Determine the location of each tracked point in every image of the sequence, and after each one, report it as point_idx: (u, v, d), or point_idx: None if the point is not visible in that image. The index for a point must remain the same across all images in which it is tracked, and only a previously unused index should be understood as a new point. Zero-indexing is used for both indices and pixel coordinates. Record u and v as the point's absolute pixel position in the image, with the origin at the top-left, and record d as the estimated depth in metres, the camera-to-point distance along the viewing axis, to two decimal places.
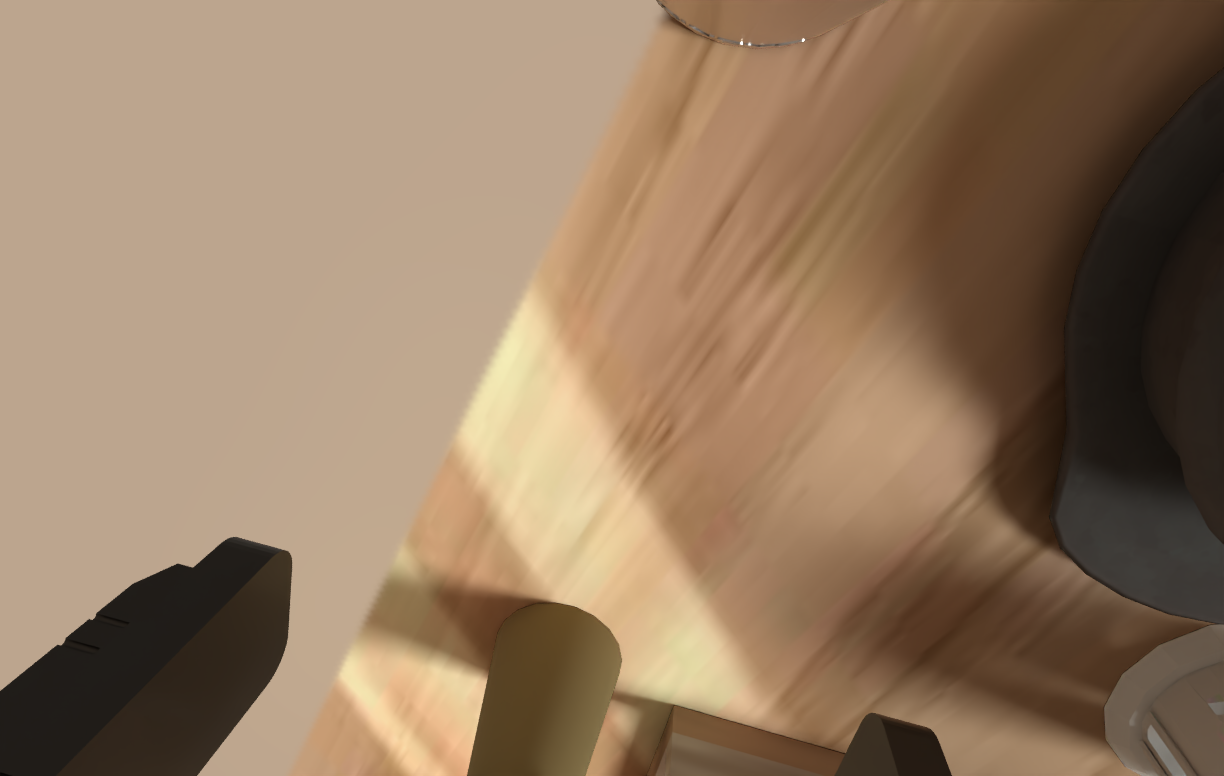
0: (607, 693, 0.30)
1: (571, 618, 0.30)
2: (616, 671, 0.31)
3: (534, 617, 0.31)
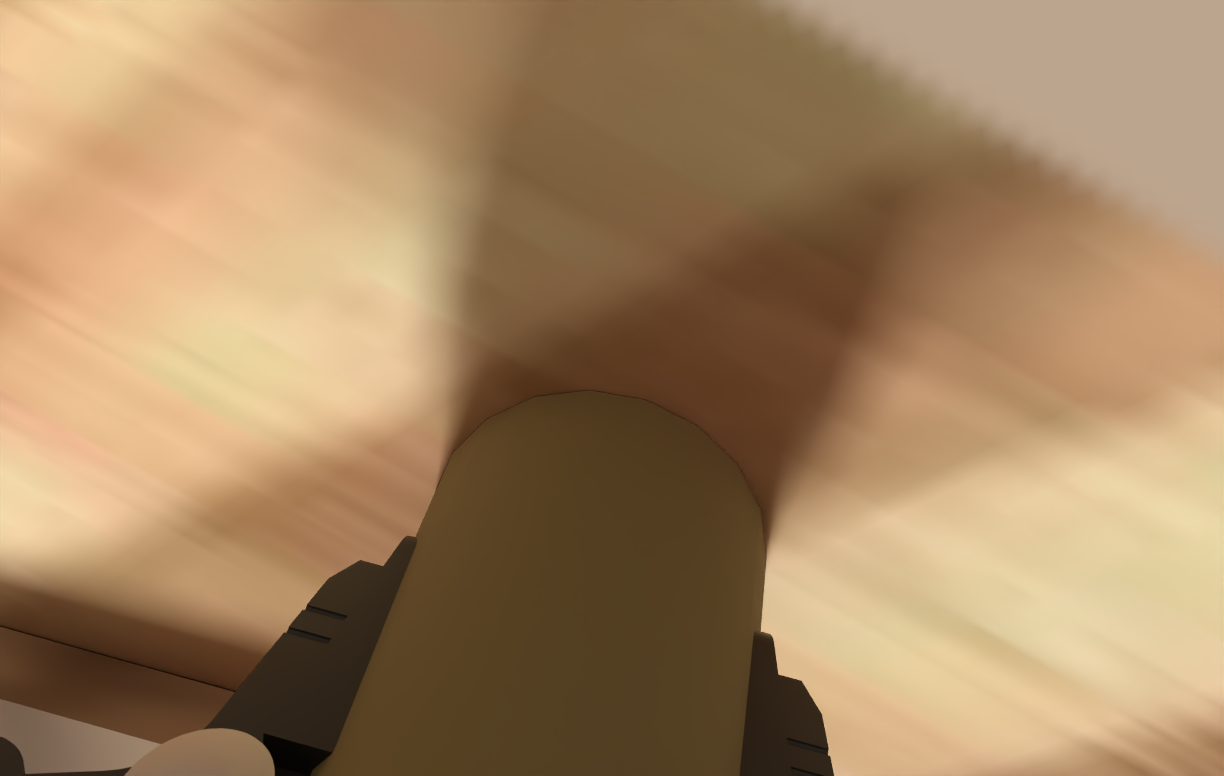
0: None
1: None
2: None
3: (757, 541, 0.11)
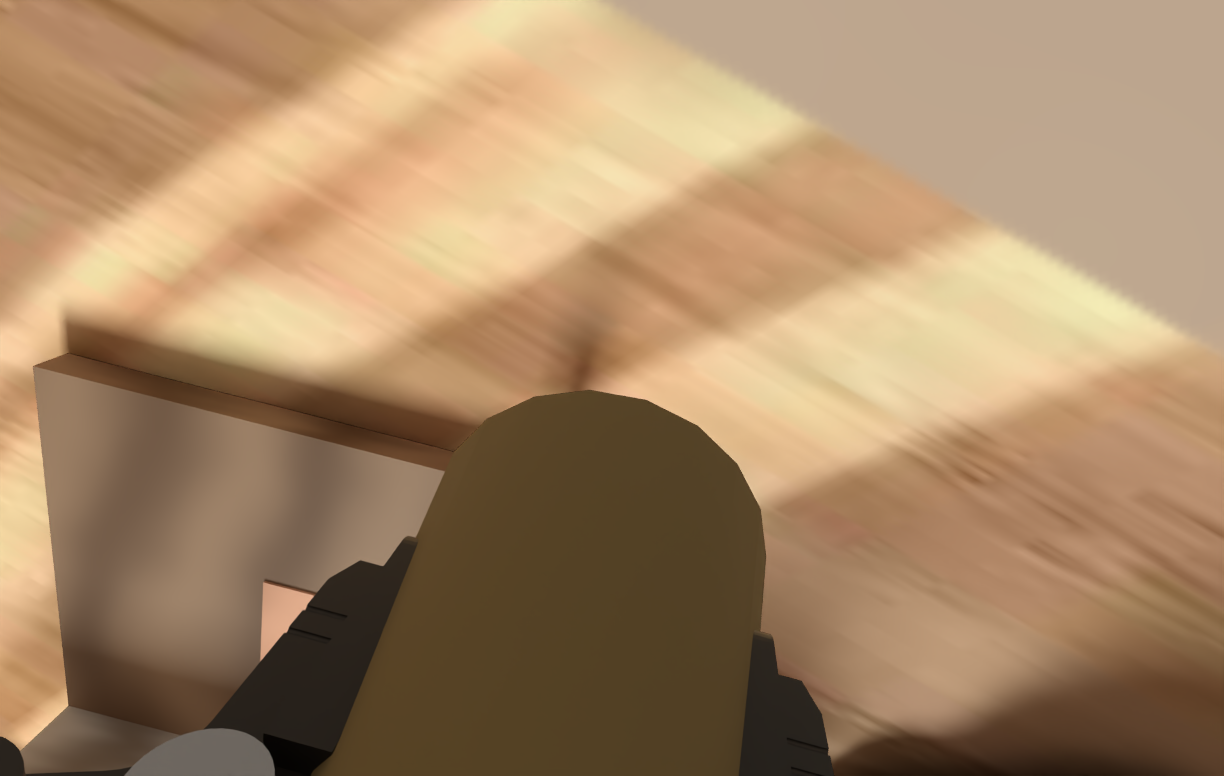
0: None
1: None
2: None
3: None
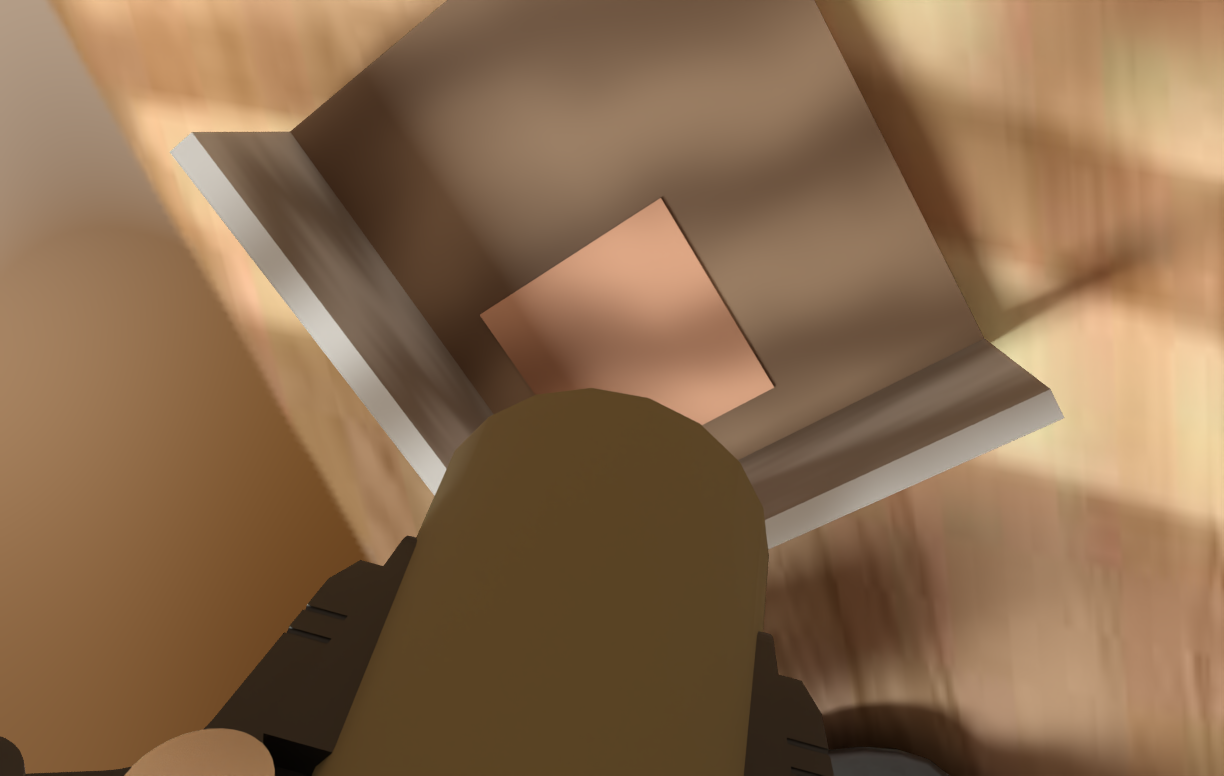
0: None
1: None
2: None
3: None
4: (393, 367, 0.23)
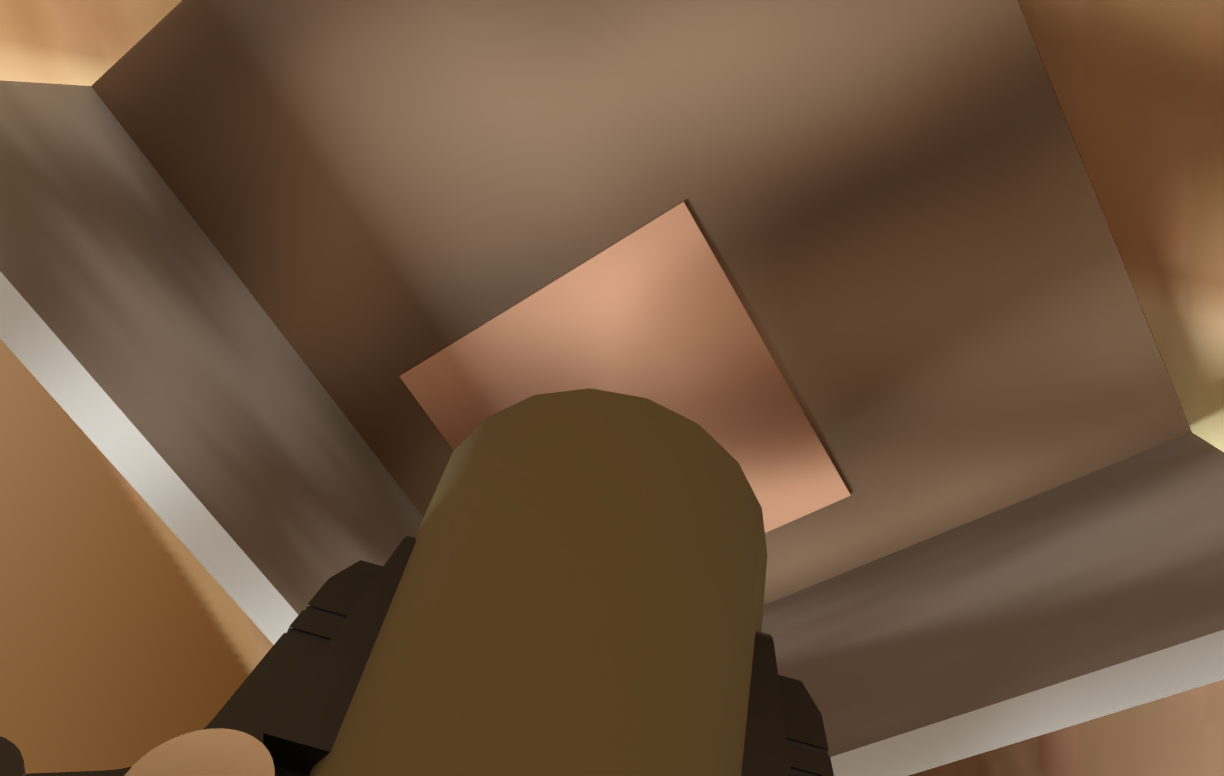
0: None
1: None
2: None
3: (758, 539, 0.11)
4: (240, 476, 0.14)
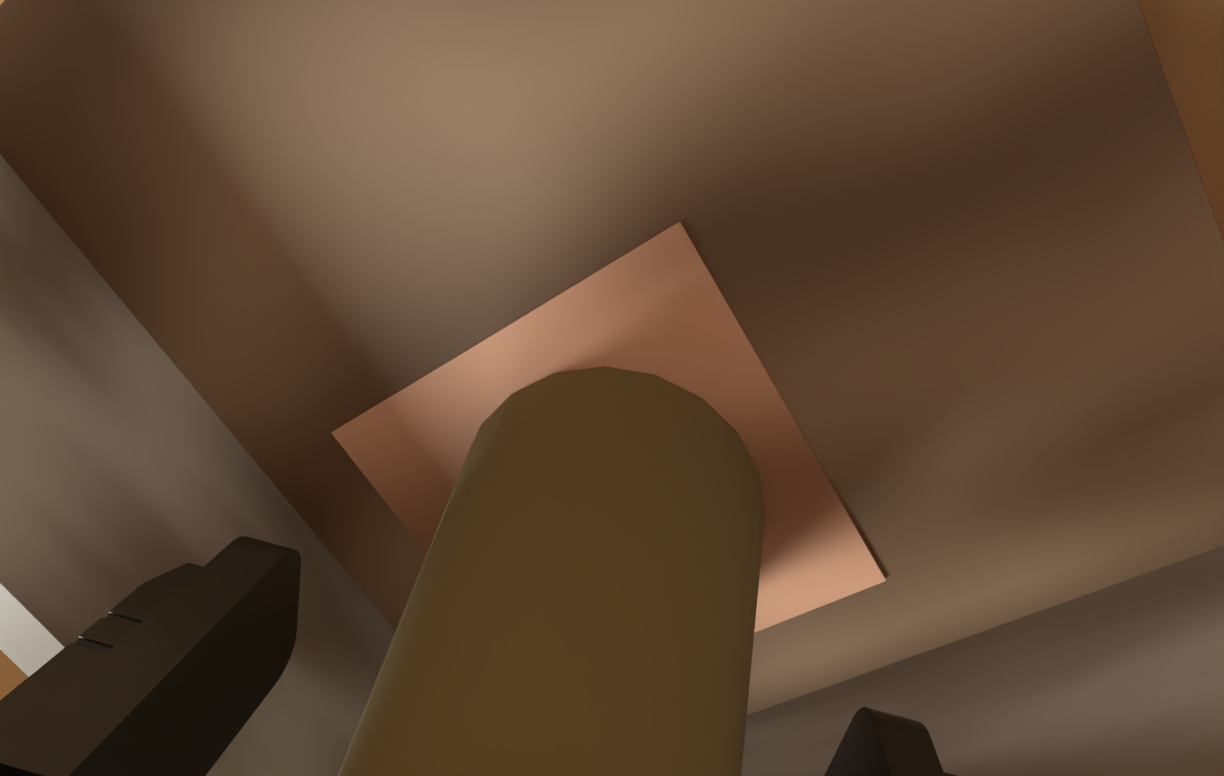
0: None
1: None
2: None
3: None
4: (107, 578, 0.11)
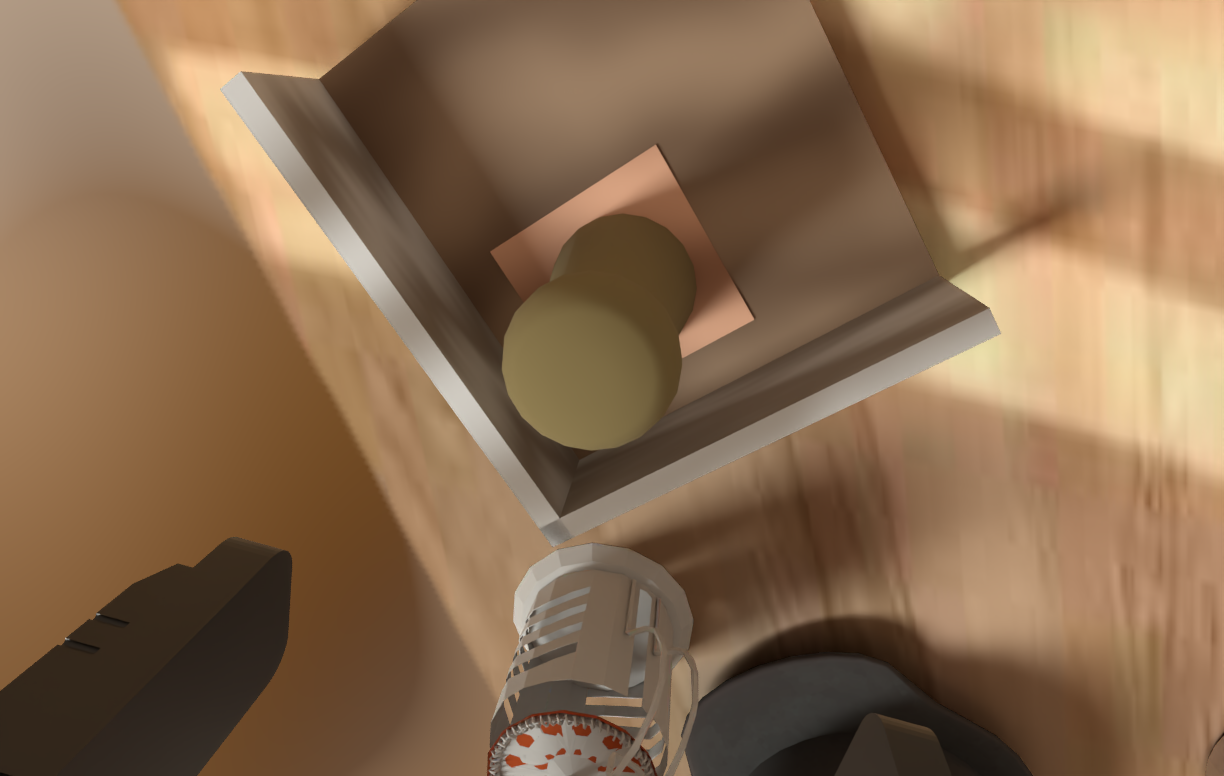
0: None
1: (690, 312, 0.28)
2: None
3: (690, 272, 0.27)
4: (415, 292, 0.26)
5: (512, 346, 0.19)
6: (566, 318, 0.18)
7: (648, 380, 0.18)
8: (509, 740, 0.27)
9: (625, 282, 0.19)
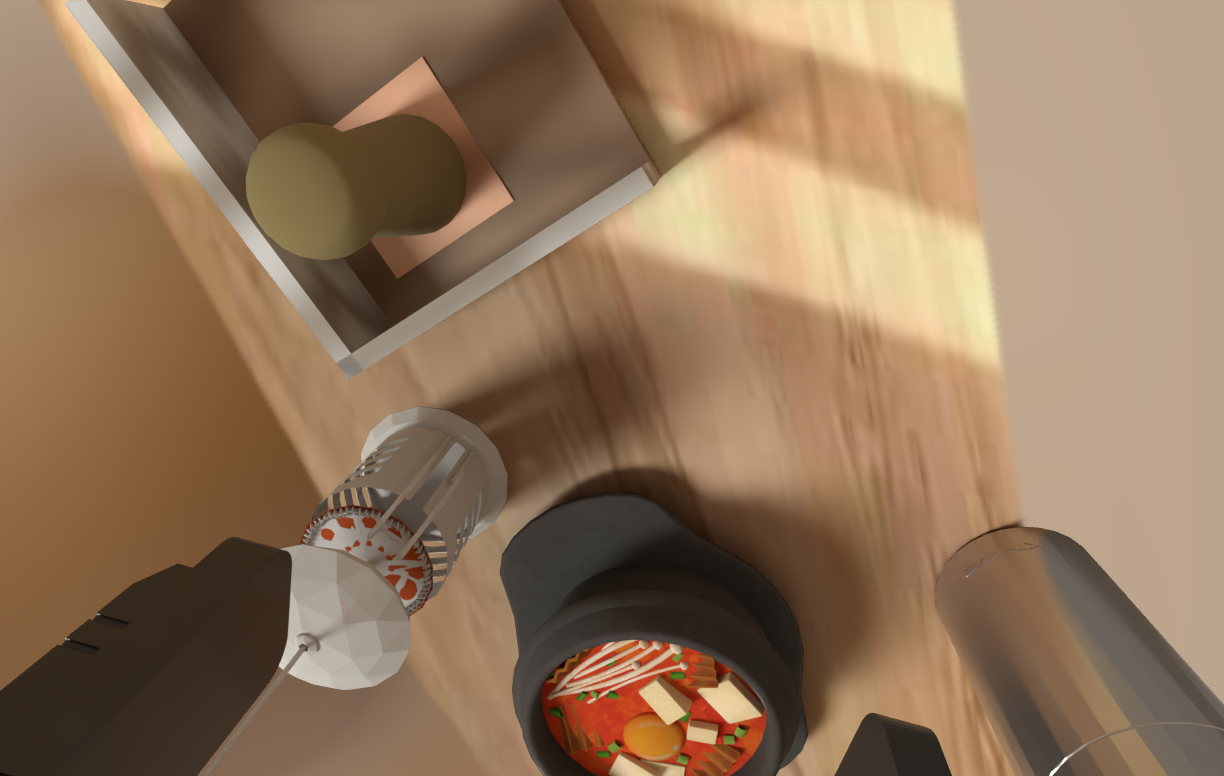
0: (405, 235, 0.34)
1: (459, 193, 0.35)
2: (414, 235, 0.36)
3: (455, 159, 0.34)
4: (229, 169, 0.33)
5: (247, 173, 0.26)
6: (278, 148, 0.25)
7: (340, 195, 0.25)
8: (312, 531, 0.35)
9: (330, 128, 0.26)
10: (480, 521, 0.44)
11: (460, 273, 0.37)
